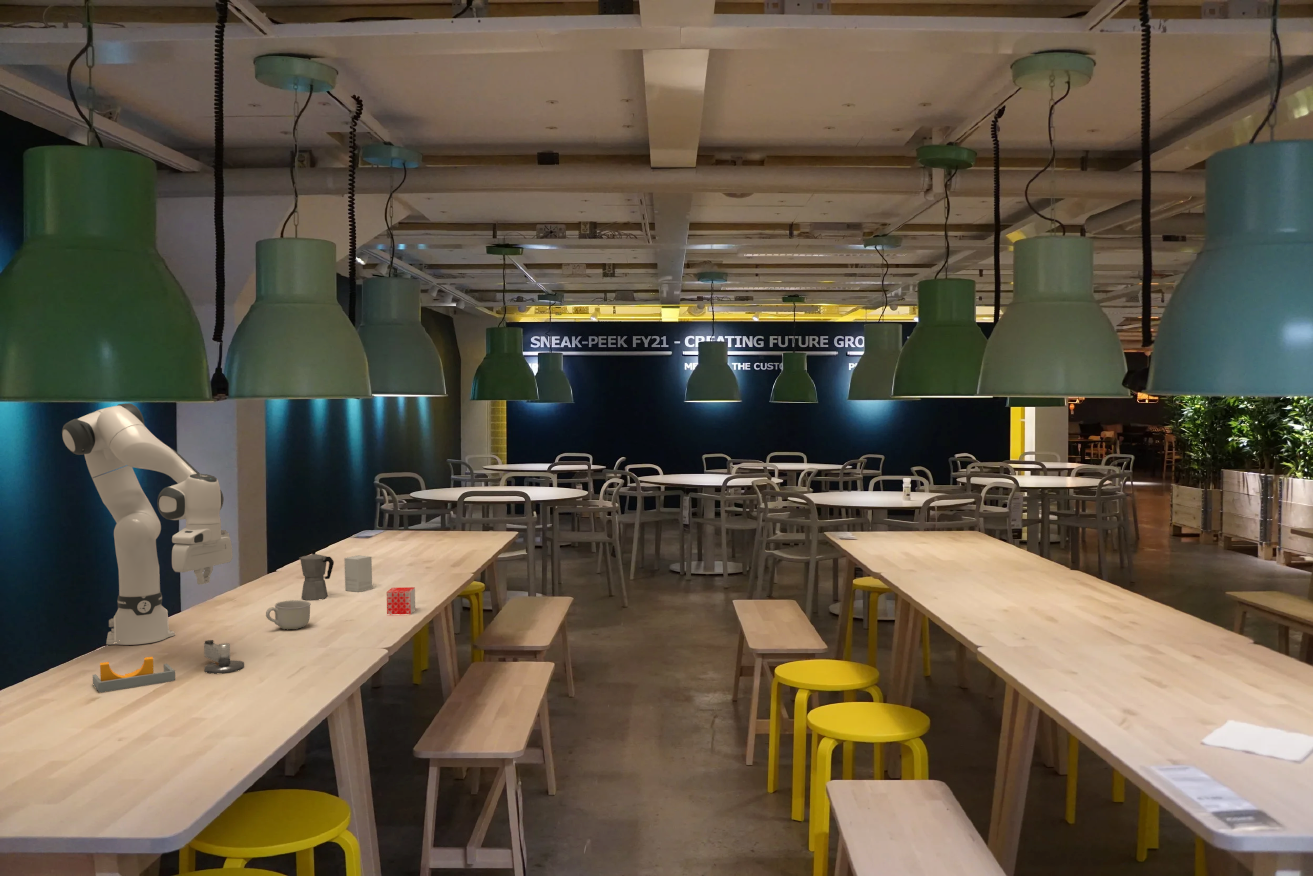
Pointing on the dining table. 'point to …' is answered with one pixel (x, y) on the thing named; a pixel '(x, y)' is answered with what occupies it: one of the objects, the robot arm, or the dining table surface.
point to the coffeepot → (315, 575)
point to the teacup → (290, 614)
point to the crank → (217, 652)
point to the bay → (135, 680)
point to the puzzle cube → (401, 600)
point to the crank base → (224, 667)
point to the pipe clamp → (144, 670)
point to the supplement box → (358, 573)
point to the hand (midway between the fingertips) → (203, 583)
